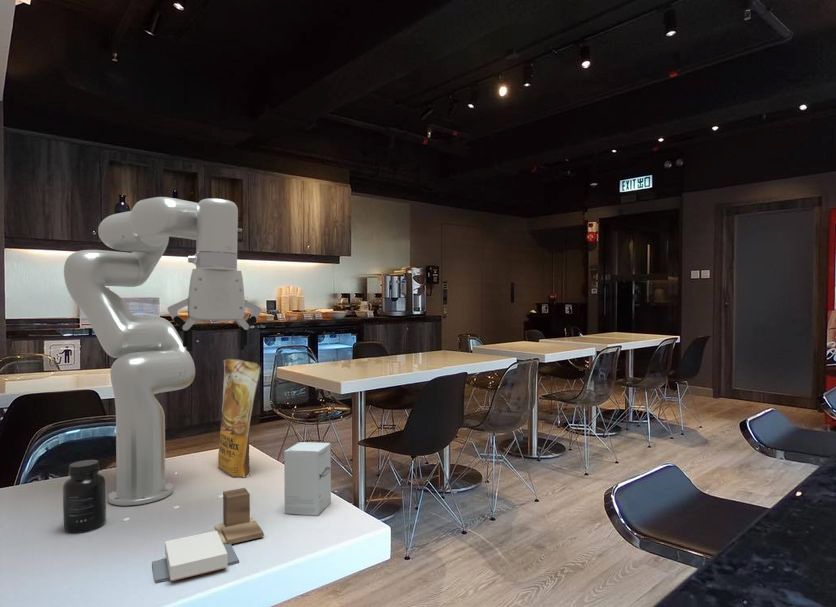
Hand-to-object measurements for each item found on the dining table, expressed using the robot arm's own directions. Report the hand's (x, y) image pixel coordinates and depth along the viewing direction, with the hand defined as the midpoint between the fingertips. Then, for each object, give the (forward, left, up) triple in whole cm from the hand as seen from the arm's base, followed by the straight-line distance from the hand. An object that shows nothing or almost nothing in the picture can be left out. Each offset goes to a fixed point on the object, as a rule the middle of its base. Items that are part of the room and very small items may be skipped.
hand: (215, 350), depth 103 cm
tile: (+14, -6, -31) cm, 34 cm away
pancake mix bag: (-31, +10, -33) cm, 46 cm away
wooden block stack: (+10, +2, -32) cm, 34 cm away
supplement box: (+5, +17, -33) cm, 37 cm away
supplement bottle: (-9, -22, -33) cm, 41 cm away
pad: (+9, +2, -33) cm, 34 cm away
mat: (+18, -6, -33) cm, 38 cm away
